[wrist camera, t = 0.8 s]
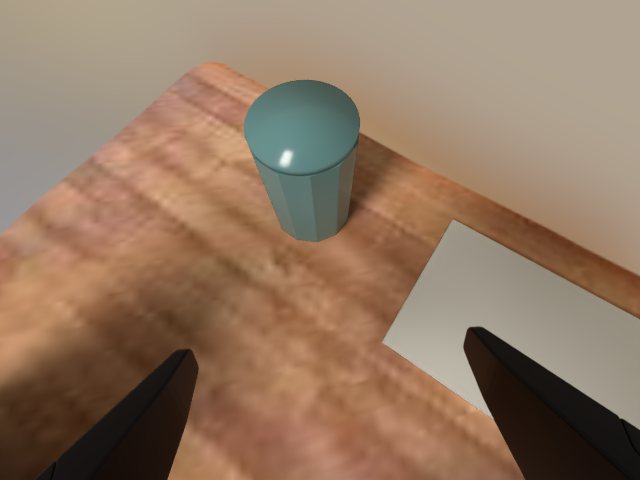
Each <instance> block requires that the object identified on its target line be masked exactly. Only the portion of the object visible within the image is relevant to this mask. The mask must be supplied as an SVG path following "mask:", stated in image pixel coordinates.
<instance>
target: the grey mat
mask: <svg viewBox="0 0 640 480" xmlns="http://www.w3.org/2000/svg"><path fill="white" fill-rule="evenodd" d="M476 326H481V327H484V328H485V329H487V330H488V331H490V332H491V333H493V334H494V335H496V336H497V337H499V338H501V339H502V340H504V341H505V342H507V343H508V344H510V345H511V346H513V347H514V348H516V349H517V350H519V351H520V352H522V353H523V354H525V355H526V356H528V357H530V358H531V359H533V360H534V361H536V362H537V363H539V364H540V365H542V366H543V367H545V368H546V369H548V370H549V371H551V372H552V373H554V374H555V375H557V376H558V377H560V378H562V379H563V380H565V381H566V382H568V383H569V384H571V385H572V386H574V387H575V388H577V389H578V390H580V391H581V392H583V393H584V394H586V395H587V396H589V397H591V398H592V399H594V400H595V401H597V402H598V403H600V404H601V405H603V406H604V407H606V408H607V409H609V410H610V411H612V412H613V413H615V414H616V415H618V416H619V418H622V419H624V420H626V421H627V422H629V423H630V424H632V425H633V426H635V427H636V428H638V429H640V319H638V318H636V317H634V316H633V315H631V314H629V313H627V312H625V311H623V310H621V309H619V308H618V307H616V306H614V305H612V304H610V303H608V302H606V301H605V300H603V299H601V298H599V297H597V296H595V295H593V294H592V293H590V292H588V291H586V290H584V289H582V288H580V287H579V286H577V285H575V284H573V283H571V282H569V281H567V280H566V279H564V278H562V277H560V276H558V275H556V274H554V273H553V272H551V271H549V270H547V269H545V268H543V267H541V266H540V265H538V264H536V263H534V262H532V261H530V260H528V259H527V258H525V257H523V256H521V255H519V254H517V253H515V252H513V251H512V250H510V249H508V248H506V247H504V246H502V245H500V244H499V243H497V242H495V241H493V240H491V239H489V238H487V237H486V236H484V235H482V234H480V233H478V232H476V231H474V230H473V229H471V228H469V227H467V226H465V225H463V224H461V223H460V222H458V221H456V220H454V219H453V220H452V221H451V222H450V224H449V226H448V227H447V229H446V231H445V233H444V234H443V236H442V238H441V240H440V241H439V243H438V245H437V247H436V248H435V250H434V252H433V253H432V255H431V257H430V259H429V260H428V262H427V264H426V266H425V267H424V269H423V271H422V273H421V274H420V276H419V278H418V279H417V281H416V283H415V285H414V286H413V288H412V290H411V292H410V293H409V295H408V297H407V299H406V300H405V302H404V304H403V305H402V307H401V309H400V311H399V312H398V314H397V316H396V318H395V319H394V321H393V323H392V325H391V326H390V328H389V330H388V331H387V333H386V335H385V337H384V338H383V340H382V343H384V344H385V345H387V346H388V347H390V348H391V349H392V350H394V351H395V352H397V353H398V354H400V355H401V356H403V357H404V358H405V359H407V360H408V361H410V362H411V363H413V364H414V365H416V366H417V367H418V368H420V369H421V370H423V371H424V372H426V373H427V374H428V375H430V376H431V377H433V378H434V379H436V380H437V381H439V382H440V383H441V384H443V385H444V386H446V387H447V388H449V389H450V390H451V391H453V392H454V393H456V394H457V395H459V396H460V397H462V398H463V399H464V400H466V401H467V402H469V403H470V404H472V405H473V406H474V407H476V408H477V409H479V410H480V411H482V412H483V413H485V414H486V415H487V416H489V417H490V418H492V419H493V417H492V415H491V413H490V411H489V409H488V407H487V405H486V403H485V401H484V399H483V397H482V394H481V392H480V390H479V387H478V385H477V382H476V380H475V377H474V375H473V372H472V370H471V367H470V365H469V363H468V360H467V358H466V355H465V353H464V349H463V344H464V340H465V335H466V331H467V329H468V328H469V327H476ZM493 420H494V419H493Z"/></svg>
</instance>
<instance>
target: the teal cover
mask: <svg viewBox="0 0 640 480" xmlns="http://www.w3.org/2000/svg"><path fill="white" fill-rule="evenodd" d="M359 127H360V117H359V113H358V110H357V108H356V106H355V104H354V102H353V101H352V99H351V98H350V97H349V96H348V95H347V94H346V93H344V92H343V91H342V90H340V89H338V88H337V87H335V86H333V85H330V84H327V83H324V82H320V81H314V80H296V81H290V82H286V83H283V84H280V85H277V86H275V87H273V88H271V89H269V90H267V91H266V92H264V93H263V94H262V95H261V96H259V97H258V98H257V99H256V100H255V101H254V103H253V104H252V105H251V107H250V108H249V110H248V112H247V115H246V118H245V123H244V132H245V138H246V141H247V143H248V146H249V148H250V151H251V153H252V156H253V158H254V161H255V163H256V166H257V168H258V171H259V173H260V176H261V178H262V181H263V183H264V186H265V188H266V190H267V193H268V195H269V198H270V200H271V203H272V205H273V208H274V210H275V213H276V215H277V217H278V220H279V222H280V225H281V227H282V229H283V230H284V231H286V232H287V233H288V234H290V235H291V236H293V237H294V238H296V239H297V240H303V241H313V242H319V241H321V240H324V239H326V238H328V237H331V236H333V235H336V234H337V232H338V231H339V230H340V229H341V227H342V226H343V225H344V223H345V222H346V221H347V220H348V212H349V205H350V198H351V191H352V184H353V177H354V169H355V162H356V155H357V148H358V137H359Z"/></svg>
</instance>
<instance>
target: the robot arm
mask: <svg viewBox="0 0 640 480" xmlns="http://www.w3.org/2000/svg"><path fill="white" fill-rule="evenodd" d="M463 349H464V353H465V355H466V358H467V360H468V363H469V365H470V367H471V370H472V372H473V375H474V377H475V380H476V382H477V385H478V387H479V390H480V392H481V394H482V397H483V399H484V401H485V403H486V405H487V407H488V409H489V411H490V413H491V415H492V417H493V419H494V421H495V422H496V424H497V426H498V428H499V430H500V432H501V434H502V436H503V438H504V440H505V442H506V443H507V445H508V447H509V449H510V451H511V453H512V455H513V457H514V459H515V461H516V463H517V465H518V466H519V468H520V470H521V472H522V474H523V476H524V478H525V480H640V429H638V428H636V427H635V426H633V425H632V424H630V423H629V422H627V421H626V420H624V419H622V418H619V416H618V415H616V414H615V413H613V412H612V411H610V410H609V409H607V408H606V407H604V406H603V405H601V404H600V403H598V402H597V401H595V400H594V399H592V398H591V397H589V396H587V395H586V394H584V393H583V392H581V391H580V390H578V389H577V388H575V387H574V386H572V385H571V384H569V383H568V382H566V381H565V380H563V379H562V378H560V377H558V376H557V375H555V374H554V373H552V372H551V371H549V370H548V369H546V368H545V367H543V366H542V365H540V364H539V363H537V362H536V361H534V360H533V359H531V358H530V357H528V356H526V355H525V354H523V353H522V352H520V351H519V350H517V349H516V348H514V347H513V346H511V345H510V344H508V343H507V342H505V341H504V340H502V339H501V338H499V337H497V336H496V335H494V334H493V333H491V332H490V331H488V330H487V329H485V328H484V327H481V326H476V327H469V328H468V329H467V331H466V335H465V340H464V344H463ZM197 375H198V364H197V361H196V359H195V356H194V354H193V352H192V350H191V349H178V350H176V351H175V352H174V353H173V354H172V355H170V356H169V357H168V358H167V359H166V360H165V361H164V362H163V363H162V364H161V365H159V366H158V367H157V368H156V369H155V370H154V371H153V372H152V373H151V374H150V375H148V376H147V377H146V378H145V379H144V380H143V381H142V382H141V383H140V384H139V385H138V386H136V387H135V388H134V389H133V390H132V391H131V392H130V393H129V394H128V395H127V396H125V397H124V398H123V399H122V400H121V401H120V402H119V403H118V404H117V405H116V406H114V407H113V408H112V409H111V410H110V411H109V412H108V413H107V414H106V415H105V416H103V417H102V418H101V419H100V420H99V421H98V422H97V423H96V424H95V425H94V426H92V427H91V428H90V429H89V430H88V431H87V432H86V433H85V434H84V435H83V436H81V437H80V438H79V439H78V440H77V441H76V442H75V443H74V444H73V445H72V446H70V447H69V448H68V449H67V450H66V451H65V452H64V453H63V454H62V455H61V456H59V457H58V459H57V461H54V462H53V463H52V464H51V465H49V466H48V467H47V468H46V469H45V470H44V471H43V472H42V473H41V474H40V475H38V476H37V477H36V478H35V479H34V480H167V479H168V476H169V473H170V470H171V467H172V464H173V461H174V458H175V455H176V452H177V449H178V446H179V443H180V440H181V437H182V434H183V431H184V428H185V425H186V422H187V418H188V414H189V410H190V405H191V401H192V397H193V392H194V388H195V384H196V379H197Z"/></svg>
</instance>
